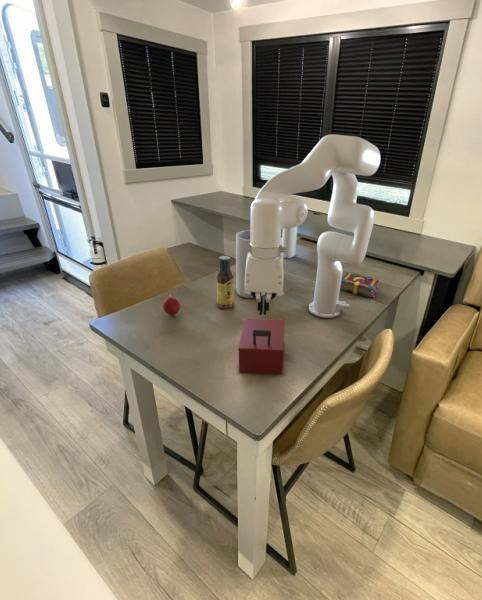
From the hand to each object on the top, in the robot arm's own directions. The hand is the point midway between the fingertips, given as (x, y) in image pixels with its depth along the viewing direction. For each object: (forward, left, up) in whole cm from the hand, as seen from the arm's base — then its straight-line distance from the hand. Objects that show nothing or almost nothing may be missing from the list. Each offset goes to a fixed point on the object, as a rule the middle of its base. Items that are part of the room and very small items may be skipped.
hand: (263, 312), depth 92 cm
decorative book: (-41, -54, -18) cm, 70 cm away
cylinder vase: (+7, -46, -18) cm, 50 cm away
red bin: (0, -3, -18) cm, 18 cm away
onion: (+34, -25, -18) cm, 46 cm away
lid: (0, -2, -9) cm, 9 cm away
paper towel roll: (-9, -89, -18) cm, 91 cm away
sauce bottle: (+16, -34, -18) cm, 41 cm away
